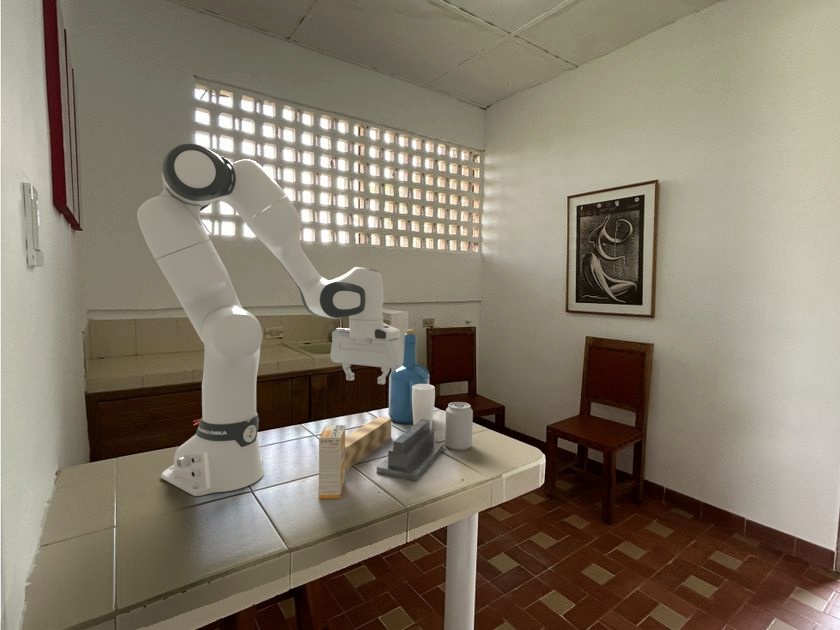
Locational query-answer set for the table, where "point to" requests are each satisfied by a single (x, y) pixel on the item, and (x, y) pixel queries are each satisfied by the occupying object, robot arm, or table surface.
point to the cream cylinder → (423, 402)
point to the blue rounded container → (405, 382)
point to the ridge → (411, 452)
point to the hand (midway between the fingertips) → (365, 381)
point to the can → (458, 426)
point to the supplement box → (331, 461)
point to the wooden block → (366, 440)
